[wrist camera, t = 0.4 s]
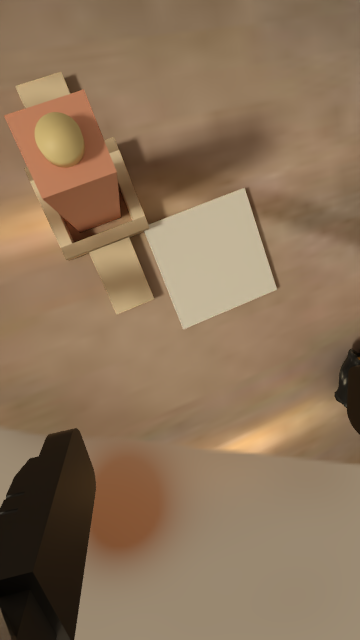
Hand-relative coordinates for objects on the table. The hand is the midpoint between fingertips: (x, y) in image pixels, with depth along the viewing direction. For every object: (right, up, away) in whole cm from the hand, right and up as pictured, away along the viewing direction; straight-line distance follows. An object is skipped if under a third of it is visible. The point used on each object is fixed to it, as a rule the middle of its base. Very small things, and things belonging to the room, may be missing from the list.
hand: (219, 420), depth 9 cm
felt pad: (+2, +10, +26) cm, 28 cm away
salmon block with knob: (-10, +15, +23) cm, 29 cm away
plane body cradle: (-10, +15, +23) cm, 29 cm away
